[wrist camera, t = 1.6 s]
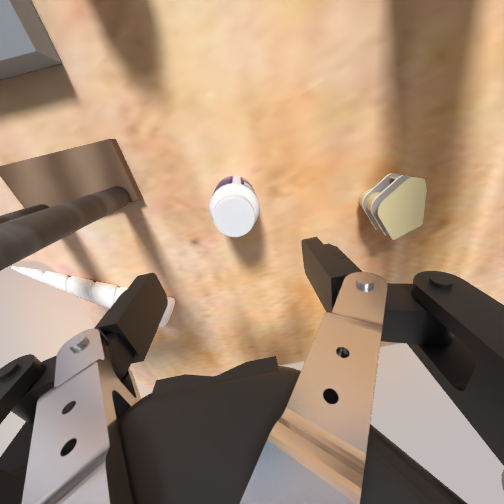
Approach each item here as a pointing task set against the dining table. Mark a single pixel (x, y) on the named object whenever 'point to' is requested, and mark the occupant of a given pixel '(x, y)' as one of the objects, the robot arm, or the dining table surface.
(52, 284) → the unicorn horn
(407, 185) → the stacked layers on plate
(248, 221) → the pill bottle
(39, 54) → the socket
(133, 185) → the green-topped post stand
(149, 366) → the dining table surface
